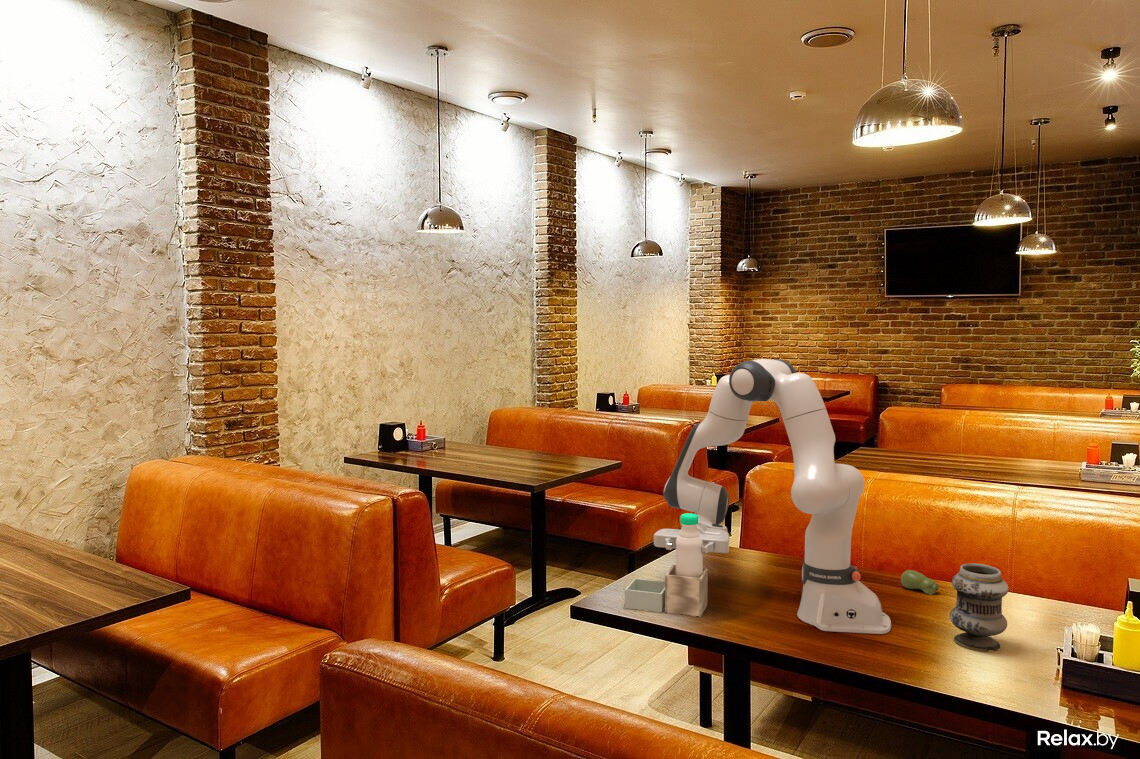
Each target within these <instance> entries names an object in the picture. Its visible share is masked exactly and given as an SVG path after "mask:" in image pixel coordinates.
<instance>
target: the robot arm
mask: <svg viewBox="0 0 1140 759" xmlns="http://www.w3.org/2000/svg"><path fill="white" fill-rule="evenodd" d="M729 373H730V374H726V375H724V376H722V377H720V379H719V380H718V382H717V384H716V386H715V388H714V391H713V393H712V397H711V400H710V403H709V408H708V412H707V414H706V416H705V417H704V419H703V420H702V421H701V422H698V423H695V424H694V425H693V427H692V428H691V430H690V431H689V433H688V435H687V437H686V439H685V442H684V444H683V447H682V448H681V451H680V453H679V456H678V458H677V460H676V463H675V465H674V467H673V470H672V472H671V475H670V476H669V478H668V479H667V481H666V482H665V484H664V488H663V499H664V501H665V502H666V504H668V506H669V507H670V508H674V509H679V510H685V511H687V512H690V513H693V514H696V515H697V516H698V525H697V530H698V532H699V534H700V536H701V538H702V541H703V546H702V547H701V549H702V551H701V553H702V554H708V553H718V554H719V553H720V554H728V553H729V551H730V534H729V532H728V527H727V526H726V525H722V523H723V522H725V521H724V520H725V518H726V516H727V513H728V510H729V506H730V496H729V493H728V491H727V489H726V488H725V487H724V485H720V484H718V483H714V482H711V481H706V480H703V479H700V478H696V477H693V476H690V475H689V470H690V468H691V466H692V463H693V460H694V458H695V456H696V455H697V452H698V451H699V450H700V449H704V448H707V447H716V446H717V447H719V446H726V445H730V444H732V443H735V442H736V441H737V442H738V440H739V439H741V438H742V436H743V434H744V433H745V430H746V428H747V424H748V420H749V416H750V412H751V408H752V405H753V403H754V402H768V401H773V402H774V404H775V403H776V405H777V407H778V409H779V412H780V414H781V418H782V421H783V424H784V428H785V430H786V433H787V437H788V440H789V445H790V446H791V450H792V458H793V473H794V474H793V478H794V479H793V483H792V485H791V489H790V496H791V500H792V502H793V504H794V506H795V507H796V509H798V510H799V511H801V513H805V514H807V515H811V518H810V520H809V524H808V525H807V527H806V529H805V533H804V560H803V562H802V568H801V581H802V584H803V585H802V592H801V599H800V602H799V603H800V604H799V607H798V610H797V613H796V615H797V617H798V619H800V620H801V621H802V622H803V623H806V624H809V625H811V626H814V627H816V628H817V629H818V630H820V631H823V632H837V633H856V634H872V635H873V634H875V635H876V634H877V635H885V634H887V633H889V632H890V631H891V630H892V621H891V618H890V616H889V615H888V614H886V612H883V610H882V604H881V601H880V600H879V597H878V596H877V595H876V593H874V592H873V591H872V590H871V589H869V587H867V586H866V585H865V584H864V583H862V582H861V581H860V580H861V577H862V576H861V573H860V571H859V569H858V566H856V565H855V566H854V565H852V564H851V552H852V551H851V548H852V535H853V534H852V533H853V527H854V523H855V519H856V514H857V510H858V504H859V502H860V499H861V497H862V494H863V493H864V490H865V484H866V482H865V478H864V476H863V474H862V473H861V471H859V469H858V468H856V467H855V466H853V465H850V464H845V463H836V462H835V453H834V452H835V451H834V450H835V448H834V447H835V443H836V434H835V432H834V429H833V426H832V423H831V419H830V416H829V414H828V410H827V407H826V405H825V403H824V399H823V397H822V395H821V393H820V391H819V390H820V389H818V387H817V384H816V383H815V382H814V380H813V378H812V377H811V376H810V375H809V374H807V373H803V372H797V370H796V368H795V367H794V366H793V365H792V364H791V363H789V362H788V361H786V360H784V359H780V358H776V359H775V358H773V359H768V358H758V359H753V360H746V361H742V362H740V363H738V364H736V366H734V367H733V368H732V370H731V372H729ZM681 529H682V527H681V528H680V529H677V528H662V529H661V528H660V529H658V530H657V531H656V532H655V533H654V534H653V546H654V547H656V548H664V549H666V550H667V551H672V550H673V549H676V548H677V546H676V539H677V537H678V535H679V532H680V530H681Z"/></svg>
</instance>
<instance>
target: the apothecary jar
mask: <svg viewBox="0 0 1140 759" xmlns="http://www.w3.org/2000/svg"><path fill="white" fill-rule="evenodd" d="M951 585H952V587H953V589H954V590H955V591H956V603H955V606H954V607H953V608H952V609H951V610H950V613H949V619H950V622H951V623H952V625H954V626H955V628H957V629H959V630H960V631H962V632H961V633H958V634H956V635H955V636H954V637H953V641H954V642H955V643H956V644H958V645H959V646H961V647H963V648H965V649H969V650H973V651H978V652H990V651H994V652H995V651H999V650H1001V648H1002V646H1001V644H1000V642H999V641H998V640H996V639H994V638H993V636H994V637H995V636H997V635H1001V634H1002V633H1004V632H1006V630H1007V628H1008V620H1007V619H1006V617H1005V615H1003V609H1002V608H1003V606H1002V605H1003V598H1004V597H1005V596H1006V595H1007V594H1008V593H1009V586H1008V583H1007V582H1006V581H1005V580H1004V579H1003V578H1002V571H1001V570H1000V569H999V568H997V567H994V566H991V565H988V564H983V563H974V562H973V563H964V564H962V565H960V567H959V571H958V573H956V574H955V575H954V576H953V577H952V579H951Z"/></svg>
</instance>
